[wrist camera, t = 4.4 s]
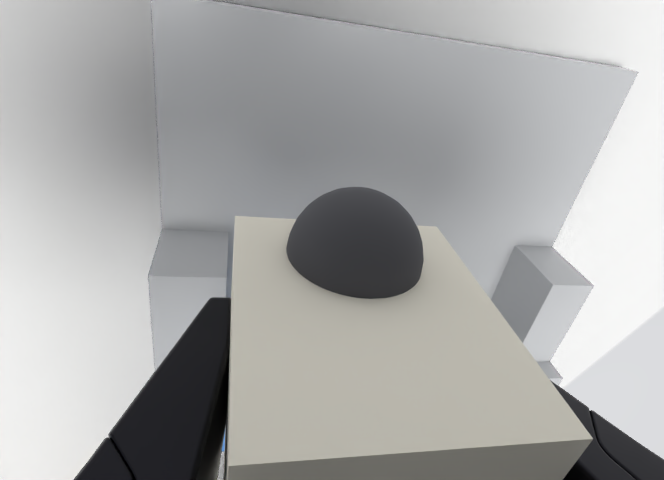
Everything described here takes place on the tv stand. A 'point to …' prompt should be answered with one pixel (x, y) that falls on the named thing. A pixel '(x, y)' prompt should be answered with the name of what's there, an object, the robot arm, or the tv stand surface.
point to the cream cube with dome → (378, 357)
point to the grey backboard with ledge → (371, 149)
